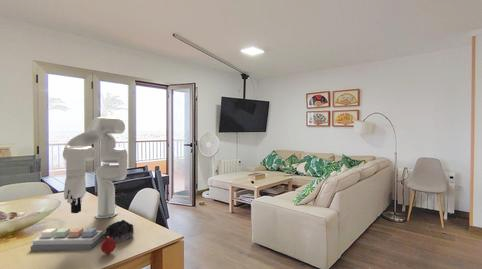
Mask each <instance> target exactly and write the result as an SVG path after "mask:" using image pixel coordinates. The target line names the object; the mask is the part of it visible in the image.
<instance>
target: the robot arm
mask: <svg viewBox="0 0 482 269" xmlns="http://www.w3.org/2000/svg"><path fill="white" fill-rule="evenodd" d="M125 129H126V125H125V122H124V121H123V120H122V119H121V118H117V117H113V116H97V117H94V118H93V119H92V120H91V122H90V123H89V125H88V126H87V128H86V130H85V131H84V132H82V133H80V134H78V135H76V136H74V137H73V138H70V140H68V142H67V143H66V145H65V147H64V149H63V151H62V157H63V160H65V164H66V165H65V169H66V171H65V175H66V176H65V180H64V187H63V188H64V190H63V199H64V200H67V203H68V204H69V205H70V212H71V214H78V213H80V212H82V202H83V200H82V199H83V198H84V197H85V195H86V191H87V190H86V189H87V186H86V162H92V161H93V160H95V159H96V157H97V149H96V148H95V147H93V146H90V145H93V144H96V143H98V142H100V150H99V159H100V162H101V163H104V164H105V165H99V166H98V167H97V168H96V170H95V177H96V183H97V184H96V185H97V212H96V213H95V214H94V218H96V219H109V217H110V218H113V217H116V216H118V214H117V213H118V211H117V210H116V208H117V204H116V193H115V192H116V186H115V185H114V183H113V181H123V180H124V181H125V179H126V178H127V175H128V161H129V159H128V156H129V154H128V151H127V149H126V148H123V147H116V145H117V144H116V143H117V140H116V137H114V135H112V134H117V135H118V134H120V135H121V134H122V133H124V132H125ZM107 164H108V165H107ZM113 164H114V165H113ZM115 215H116V216H115Z"/></svg>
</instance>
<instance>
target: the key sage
mask: <svg viewBox="0 0 482 269" xmlns="http://www.w3.org/2000/svg"><path fill="white" fill-rule="evenodd" d="M70 231H71V228H70V227H69V228H67V227H66V228H62V227H61V228H59V229H57V231H56V232H55V237H66V236H67V235H69V232H70Z"/></svg>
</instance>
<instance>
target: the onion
mask: <svg viewBox="0 0 482 269" xmlns="http://www.w3.org/2000/svg"><path fill="white" fill-rule="evenodd" d="M116 244H117V243H116V242H115V241H114V240H113V239H112V238H110V237H109V236H107V238H106V239H104V240H103V241H102V242H101V244H100V250H101V252H102V253H104V254H106V255H110V254H111V253H113V252H114V251H115V249H116V246H117V245H116Z"/></svg>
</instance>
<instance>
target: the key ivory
mask: <svg viewBox="0 0 482 269" xmlns="http://www.w3.org/2000/svg"><path fill="white" fill-rule="evenodd" d="M56 231H58V228H47V229H45V230H43V231H41V234H40V236H41V238H48V237H52V236H54V235H55V232H56Z"/></svg>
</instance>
